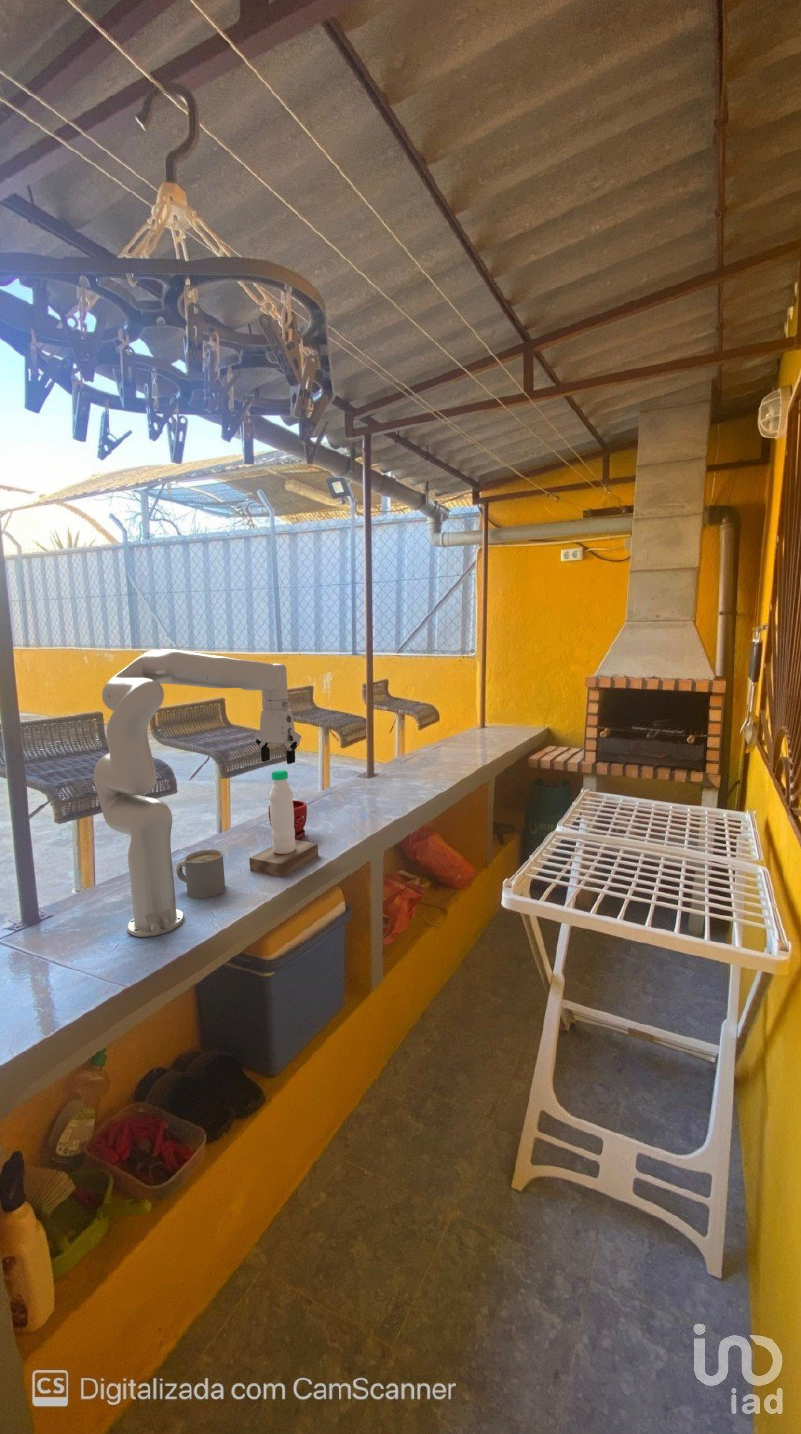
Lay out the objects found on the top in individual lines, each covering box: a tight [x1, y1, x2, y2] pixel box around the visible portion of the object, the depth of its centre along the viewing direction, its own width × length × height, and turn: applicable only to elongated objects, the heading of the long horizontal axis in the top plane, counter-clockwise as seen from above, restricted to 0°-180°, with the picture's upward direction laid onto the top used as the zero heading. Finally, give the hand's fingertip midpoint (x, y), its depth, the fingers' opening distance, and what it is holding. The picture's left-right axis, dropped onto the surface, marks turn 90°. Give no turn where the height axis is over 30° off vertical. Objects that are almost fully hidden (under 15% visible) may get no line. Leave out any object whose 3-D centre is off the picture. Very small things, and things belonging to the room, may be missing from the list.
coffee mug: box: [176, 849, 226, 899], centre depth 155 cm, size 13×10×10 cm
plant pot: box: [268, 799, 308, 840], centre depth 196 cm, size 13×13×12 cm
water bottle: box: [268, 769, 296, 854], centre depth 170 cm, size 7×7×25 cm
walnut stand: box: [248, 839, 319, 878], centre depth 173 cm, size 12×18×4 cm, turn 153°
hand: (278, 762), depth 168 cm, fingers open, 9 cm apart
